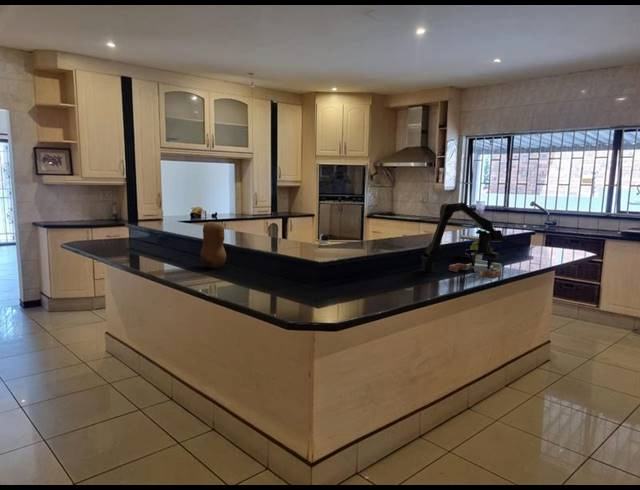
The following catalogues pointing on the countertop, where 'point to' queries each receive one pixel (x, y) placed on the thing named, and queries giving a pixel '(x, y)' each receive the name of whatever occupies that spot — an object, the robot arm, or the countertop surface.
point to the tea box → (473, 244)
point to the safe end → (495, 265)
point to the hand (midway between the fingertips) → (480, 268)
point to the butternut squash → (213, 245)
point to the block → (482, 267)
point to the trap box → (455, 267)
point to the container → (324, 239)
